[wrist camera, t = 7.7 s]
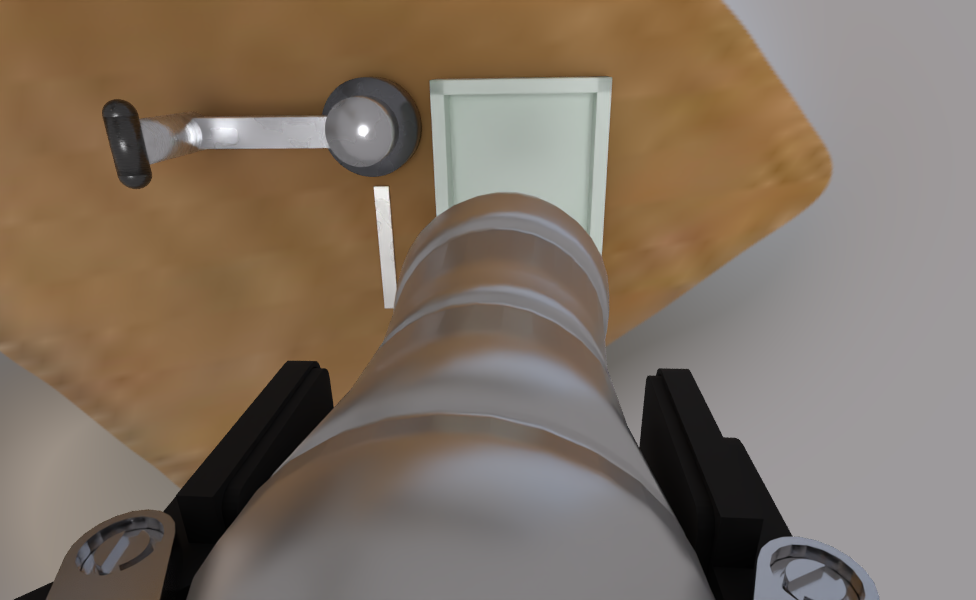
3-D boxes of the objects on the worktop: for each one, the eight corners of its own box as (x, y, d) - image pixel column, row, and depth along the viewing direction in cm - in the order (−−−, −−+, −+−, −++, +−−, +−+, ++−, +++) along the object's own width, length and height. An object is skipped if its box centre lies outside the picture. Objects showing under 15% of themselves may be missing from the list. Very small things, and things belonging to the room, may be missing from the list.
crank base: (326, 77, 38) (315, 78, 36) (418, 76, 37) (412, 76, 35) (352, 306, 44) (344, 317, 42) (431, 307, 43) (427, 318, 41)
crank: (395, 89, 35) (360, 96, 28) (401, 166, 37) (369, 191, 30) (171, 92, 36) (83, 100, 29) (187, 167, 38) (107, 191, 31)
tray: (437, 79, 37) (429, 80, 34) (606, 76, 36) (612, 77, 33) (445, 253, 41) (439, 267, 39) (596, 254, 41) (600, 268, 38)
